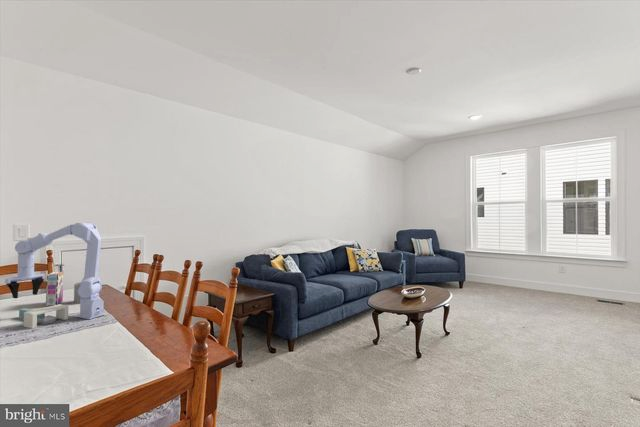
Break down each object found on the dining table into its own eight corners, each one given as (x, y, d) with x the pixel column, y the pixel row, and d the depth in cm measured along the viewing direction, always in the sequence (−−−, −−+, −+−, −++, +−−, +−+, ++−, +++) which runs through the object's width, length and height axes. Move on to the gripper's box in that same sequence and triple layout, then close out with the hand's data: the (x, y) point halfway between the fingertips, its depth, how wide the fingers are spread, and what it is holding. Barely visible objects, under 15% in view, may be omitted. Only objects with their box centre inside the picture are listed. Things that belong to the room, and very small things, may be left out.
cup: (85, 303, 178) (85, 285, 178) (70, 303, 178) (70, 284, 178) (96, 299, 187) (96, 281, 187) (81, 299, 187) (82, 281, 187)
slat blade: (44, 321, 150) (44, 312, 150) (39, 322, 148) (39, 313, 148) (24, 316, 155) (24, 308, 155) (19, 318, 153) (19, 309, 153)
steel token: (56, 322, 149) (56, 316, 149) (43, 325, 144) (43, 319, 144) (48, 320, 151) (48, 315, 151) (36, 323, 146) (36, 318, 146)
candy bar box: (57, 305, 173) (58, 274, 173) (45, 306, 171) (46, 274, 171) (63, 300, 183) (64, 270, 184) (52, 301, 181) (52, 271, 182)
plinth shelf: (68, 318, 153) (68, 305, 153) (32, 328, 139) (32, 313, 139) (59, 317, 155) (59, 304, 155) (23, 326, 142) (24, 312, 142)
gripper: (38, 264, 162) (37, 292, 162) (1, 268, 148) (0, 298, 148) (48, 265, 159) (47, 293, 159) (10, 269, 146) (10, 300, 146)
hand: (25, 296), depth 153 cm, fingers open, 7 cm apart
